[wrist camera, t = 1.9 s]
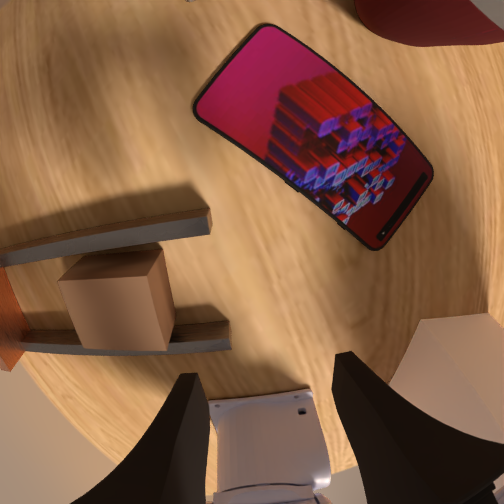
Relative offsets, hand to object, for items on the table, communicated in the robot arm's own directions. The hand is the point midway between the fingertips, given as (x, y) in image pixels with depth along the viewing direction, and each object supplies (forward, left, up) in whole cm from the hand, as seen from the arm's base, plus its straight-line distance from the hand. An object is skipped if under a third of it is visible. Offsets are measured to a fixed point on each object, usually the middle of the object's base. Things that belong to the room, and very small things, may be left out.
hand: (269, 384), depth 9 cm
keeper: (+9, 0, -10) cm, 13 cm away
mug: (-11, -18, -10) cm, 23 cm away
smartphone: (-5, -8, -10) cm, 14 cm away
